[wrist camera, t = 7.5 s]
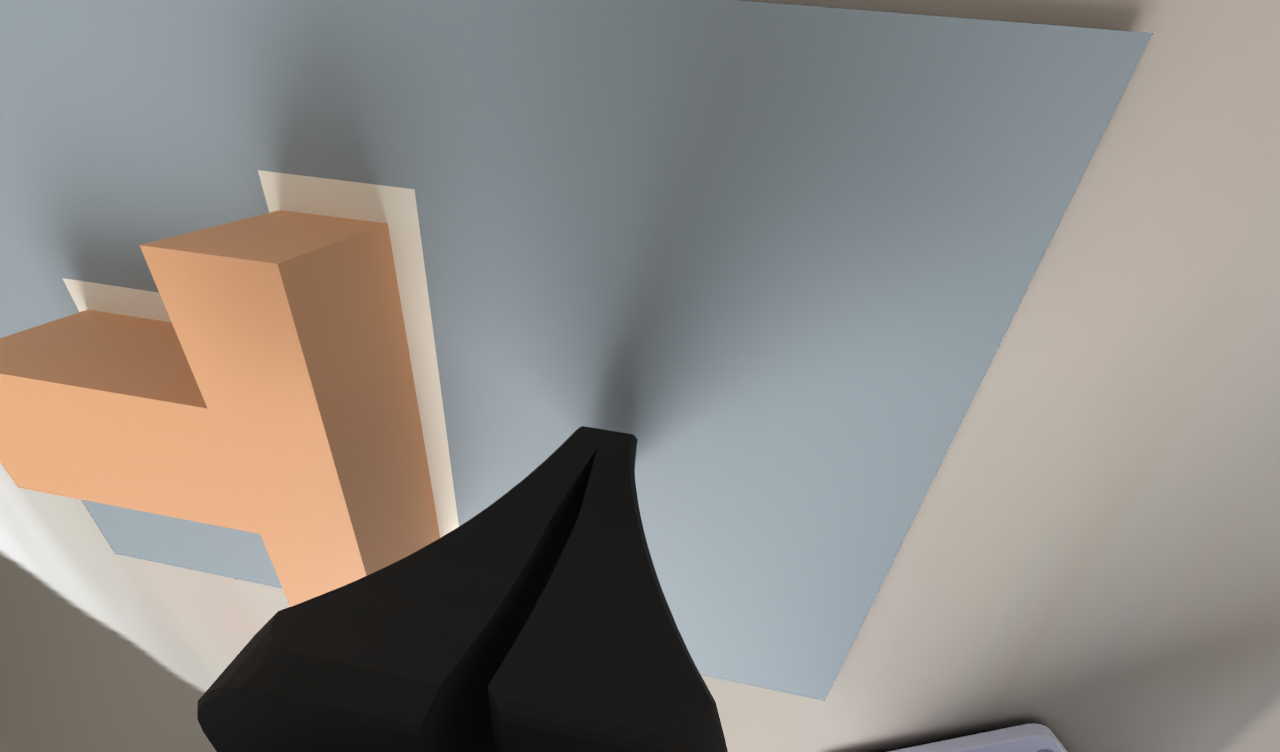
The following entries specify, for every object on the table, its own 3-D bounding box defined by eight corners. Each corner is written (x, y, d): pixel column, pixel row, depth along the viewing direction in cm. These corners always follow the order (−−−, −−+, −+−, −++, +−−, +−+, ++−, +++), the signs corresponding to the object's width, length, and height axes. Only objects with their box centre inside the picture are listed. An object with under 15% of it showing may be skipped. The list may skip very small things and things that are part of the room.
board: (1130, 36, 8) (1152, 33, 7) (821, 685, 17) (824, 700, 16) (-244, -75, 10) (-285, -82, 10) (128, 543, 19) (115, 553, 19)
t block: (387, 223, 11) (276, 264, 8) (442, 549, 16) (384, 639, 13) (21, 178, 12) (-185, 201, 9) (183, 500, 16) (80, 576, 14)
